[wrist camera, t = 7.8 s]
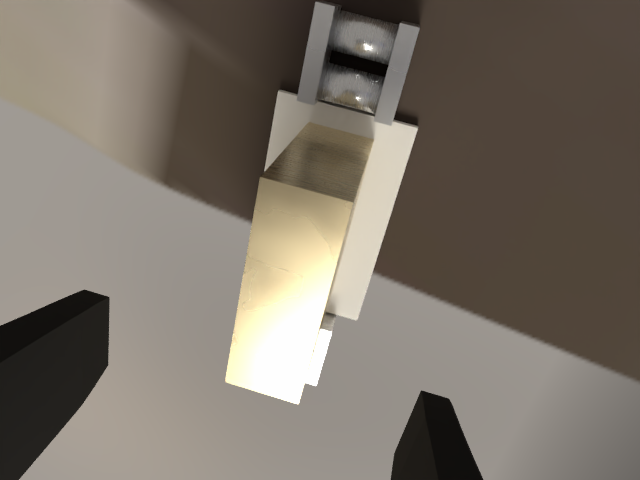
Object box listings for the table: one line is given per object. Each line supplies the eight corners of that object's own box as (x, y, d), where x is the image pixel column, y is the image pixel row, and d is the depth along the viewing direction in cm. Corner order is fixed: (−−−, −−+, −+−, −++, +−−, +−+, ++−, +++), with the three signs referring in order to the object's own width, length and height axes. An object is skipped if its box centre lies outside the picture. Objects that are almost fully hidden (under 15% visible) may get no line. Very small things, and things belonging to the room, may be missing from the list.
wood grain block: (374, 139, 18) (353, 202, 12) (329, 299, 21) (298, 404, 16) (308, 121, 18) (259, 177, 12) (274, 283, 21) (224, 381, 16)
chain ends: (419, 25, 16) (419, 28, 15) (322, 364, 23) (316, 386, 22) (323, 0, 16) (315, 1, 15) (255, 344, 23) (245, 364, 22)
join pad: (418, 126, 17) (418, 128, 17) (357, 316, 21) (357, 320, 21) (280, 89, 18) (278, 91, 17) (246, 284, 22) (243, 287, 21)
